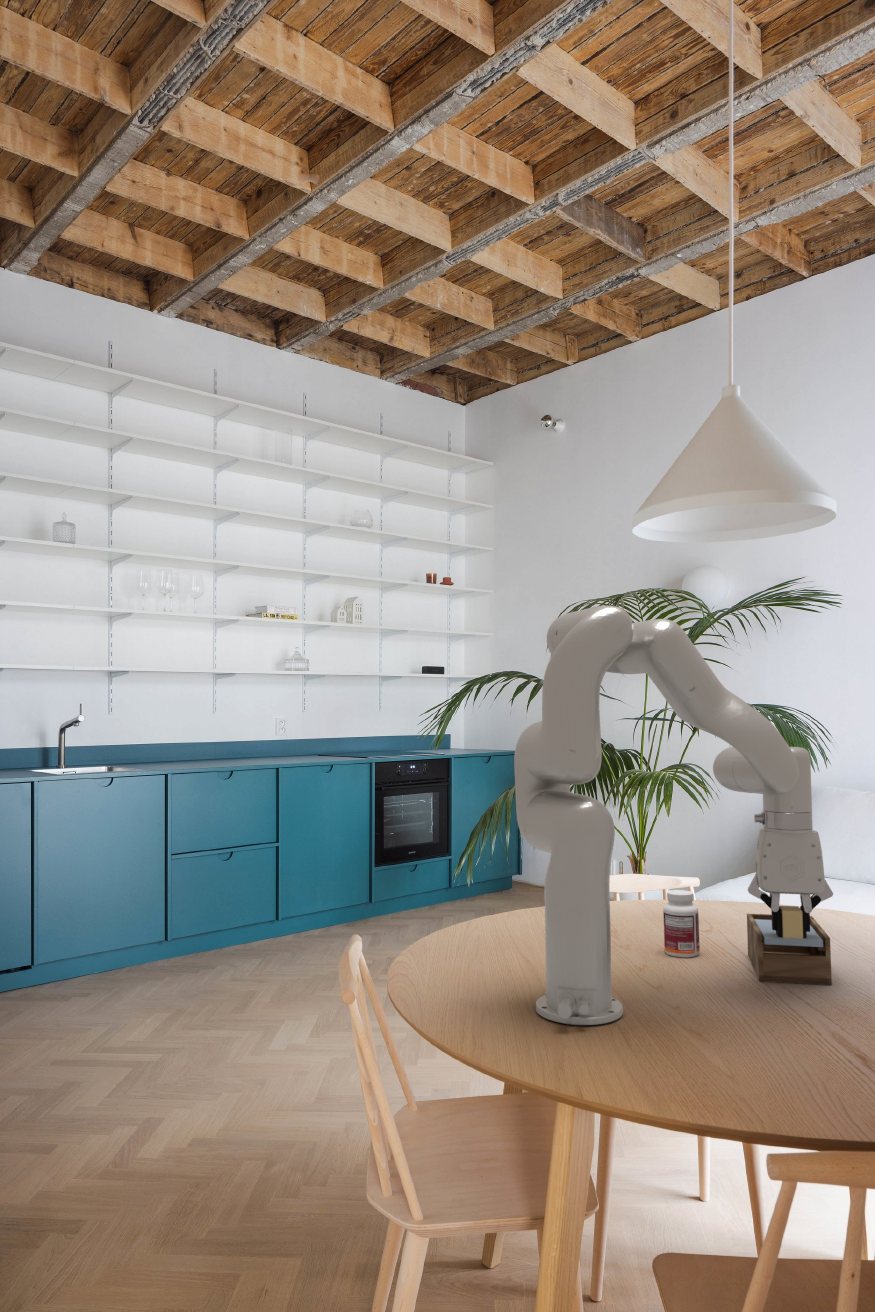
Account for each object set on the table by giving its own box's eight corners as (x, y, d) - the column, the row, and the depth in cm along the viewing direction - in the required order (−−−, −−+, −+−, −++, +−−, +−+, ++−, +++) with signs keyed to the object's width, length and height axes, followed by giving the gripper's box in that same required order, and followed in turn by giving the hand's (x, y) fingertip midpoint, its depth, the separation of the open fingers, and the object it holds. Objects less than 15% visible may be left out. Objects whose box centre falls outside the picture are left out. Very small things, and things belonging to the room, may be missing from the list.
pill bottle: (678, 947, 168) (676, 887, 169) (706, 954, 163) (705, 892, 164) (657, 953, 164) (655, 892, 165) (686, 960, 159) (684, 897, 160)
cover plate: (823, 947, 144) (822, 912, 145) (764, 944, 146) (764, 910, 146) (807, 927, 158) (806, 896, 158) (754, 925, 160) (753, 894, 160)
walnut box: (831, 985, 144) (830, 938, 145) (759, 981, 147) (757, 935, 147) (813, 958, 160) (811, 916, 160) (748, 955, 162) (746, 913, 163)
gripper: (738, 823, 147) (741, 938, 146) (846, 825, 143) (850, 944, 142) (733, 818, 154) (736, 928, 153) (836, 820, 151) (839, 932, 150)
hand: (791, 934), depth 148 cm, fingers closed on cover plate, 3 cm apart
